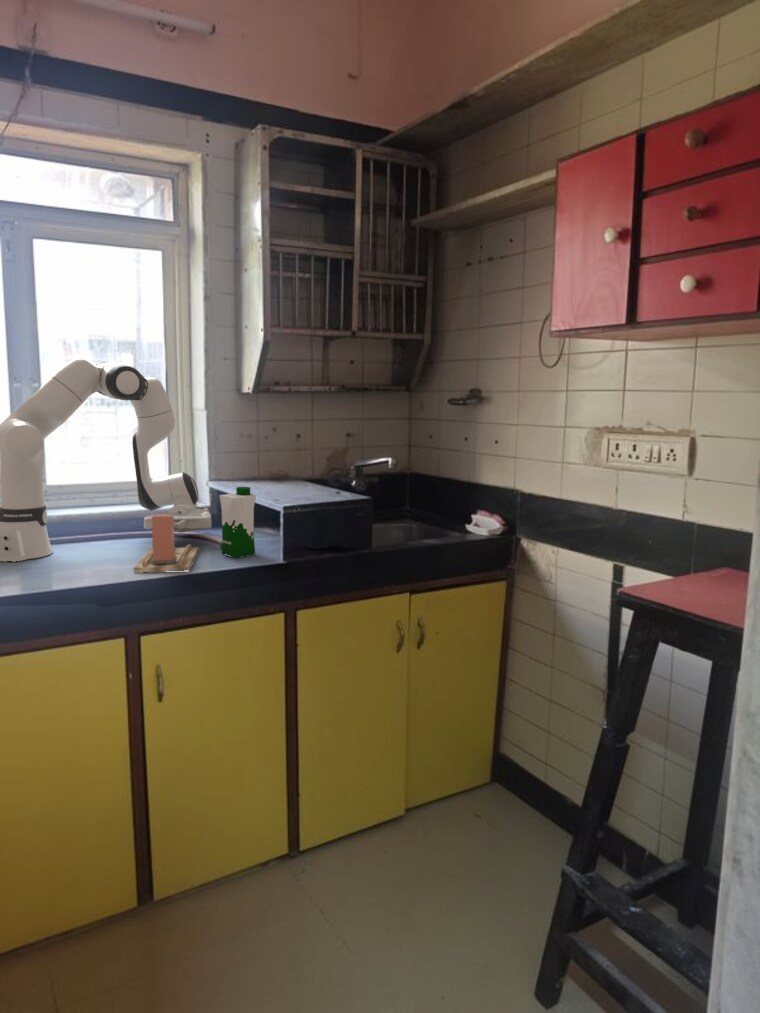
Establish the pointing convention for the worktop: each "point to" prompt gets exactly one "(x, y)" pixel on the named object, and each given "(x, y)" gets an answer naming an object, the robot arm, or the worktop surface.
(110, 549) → the worktop surface
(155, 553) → the salmon orange rectangular block
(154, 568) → the tan flat ridged board
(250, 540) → the milk carton
